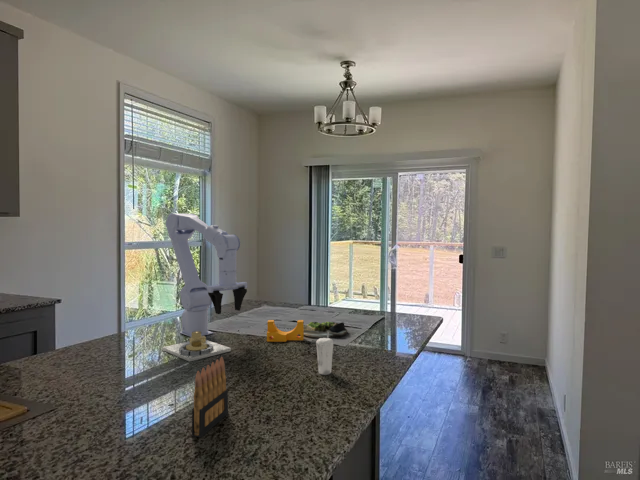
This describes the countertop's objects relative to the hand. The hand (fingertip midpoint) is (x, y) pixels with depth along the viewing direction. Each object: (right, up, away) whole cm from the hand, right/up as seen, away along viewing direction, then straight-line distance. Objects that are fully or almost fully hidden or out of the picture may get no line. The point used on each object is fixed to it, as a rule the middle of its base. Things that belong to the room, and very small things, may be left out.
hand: (228, 311), depth 144 cm
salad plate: (+32, -10, +12) cm, 36 cm away
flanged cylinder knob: (-7, -9, -13) cm, 18 cm away
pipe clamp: (+19, -10, +2) cm, 22 cm away
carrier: (-8, -10, -10) cm, 16 cm away
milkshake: (+32, -11, -30) cm, 45 cm away
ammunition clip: (+9, -12, -59) cm, 61 cm away
